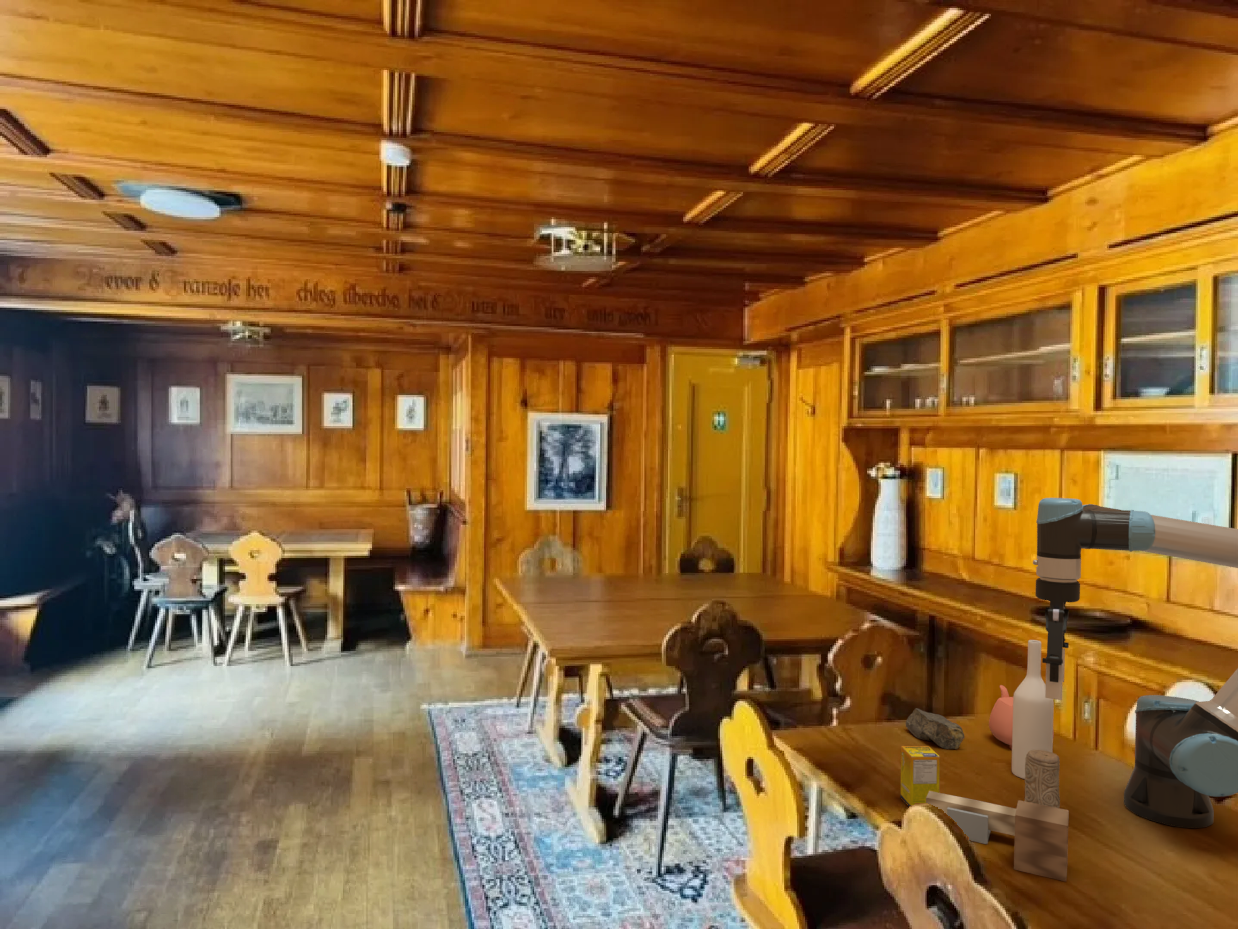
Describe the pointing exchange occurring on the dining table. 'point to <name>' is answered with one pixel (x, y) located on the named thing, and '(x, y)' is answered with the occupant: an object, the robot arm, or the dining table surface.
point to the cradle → (971, 824)
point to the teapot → (1003, 718)
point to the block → (1041, 840)
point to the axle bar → (977, 810)
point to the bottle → (1031, 713)
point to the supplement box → (918, 773)
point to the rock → (935, 729)
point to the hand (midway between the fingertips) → (1055, 689)
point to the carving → (1042, 778)
